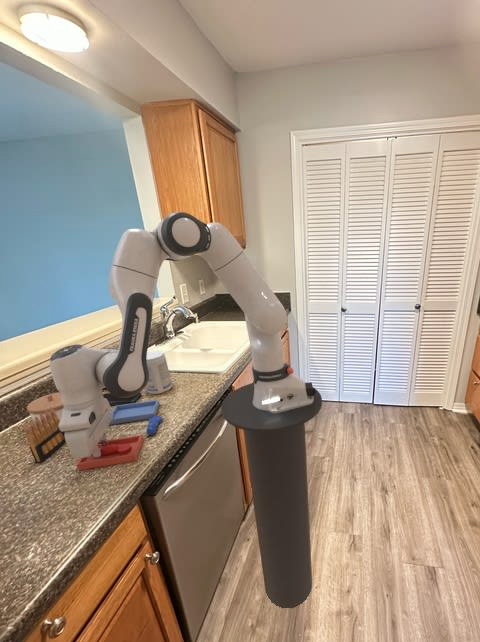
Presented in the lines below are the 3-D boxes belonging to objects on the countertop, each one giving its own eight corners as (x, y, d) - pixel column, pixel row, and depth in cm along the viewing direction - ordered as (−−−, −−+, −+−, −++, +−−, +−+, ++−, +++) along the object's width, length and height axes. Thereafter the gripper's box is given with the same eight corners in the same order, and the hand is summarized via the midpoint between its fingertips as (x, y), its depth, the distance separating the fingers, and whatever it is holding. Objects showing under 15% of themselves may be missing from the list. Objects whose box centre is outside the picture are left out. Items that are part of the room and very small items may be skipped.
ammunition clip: (41, 462, 89) (25, 425, 84) (35, 462, 89) (18, 425, 84) (69, 439, 98) (55, 405, 94) (63, 439, 99) (49, 405, 94)
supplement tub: (169, 381, 134) (161, 348, 128) (175, 389, 127) (167, 354, 121) (144, 388, 129) (135, 354, 123) (149, 397, 122) (139, 361, 116)
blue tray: (159, 404, 116) (158, 399, 116) (154, 418, 108) (153, 413, 107) (117, 410, 114) (115, 405, 113) (108, 425, 105) (107, 420, 104)
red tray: (143, 439, 96) (142, 434, 96) (136, 460, 88) (134, 454, 87) (91, 448, 94) (89, 442, 93) (78, 470, 85) (76, 464, 84)
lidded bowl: (89, 412, 113) (79, 384, 109) (73, 432, 102) (62, 401, 97) (48, 417, 111) (37, 389, 107) (29, 439, 100) (14, 408, 95)
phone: (131, 401, 116) (90, 403, 117) (132, 404, 117) (91, 406, 117) (141, 391, 124) (103, 393, 124) (142, 394, 124) (103, 395, 124)
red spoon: (94, 452, 91) (91, 444, 90) (133, 446, 93) (130, 438, 92) (89, 460, 88) (86, 452, 87) (130, 453, 90) (127, 446, 89)
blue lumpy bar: (144, 437, 97) (142, 430, 96) (151, 419, 107) (149, 413, 106) (157, 435, 98) (155, 428, 97) (162, 418, 107) (161, 411, 106)
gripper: (87, 391, 93) (101, 431, 98) (54, 430, 74) (74, 477, 80) (111, 388, 94) (123, 428, 99) (84, 425, 76) (101, 472, 81)
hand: (101, 450), depth 90 cm, fingers open, 3 cm apart
